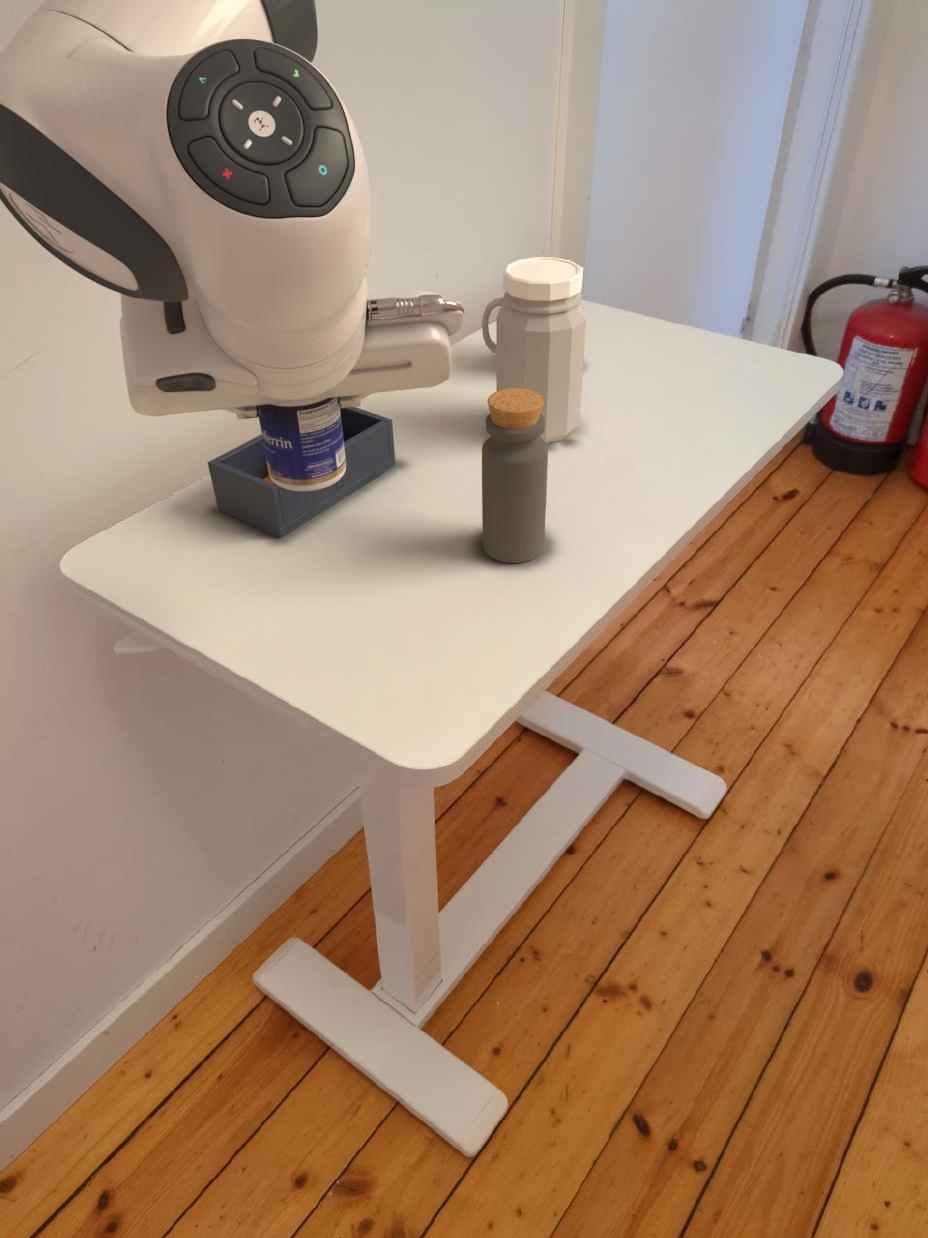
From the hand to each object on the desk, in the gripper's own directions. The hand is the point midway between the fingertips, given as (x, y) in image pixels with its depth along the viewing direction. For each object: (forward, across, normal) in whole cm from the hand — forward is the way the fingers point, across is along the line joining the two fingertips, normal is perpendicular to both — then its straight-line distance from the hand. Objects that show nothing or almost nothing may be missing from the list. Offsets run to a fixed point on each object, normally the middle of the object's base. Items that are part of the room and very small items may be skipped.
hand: (297, 402), depth 63 cm
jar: (+37, -27, -8) cm, 46 cm away
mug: (+49, -31, -20) cm, 62 cm away
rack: (+32, 0, -2) cm, 32 cm away
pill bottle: (+4, 0, +4) cm, 6 cm away
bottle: (+20, -18, +9) cm, 29 cm away
